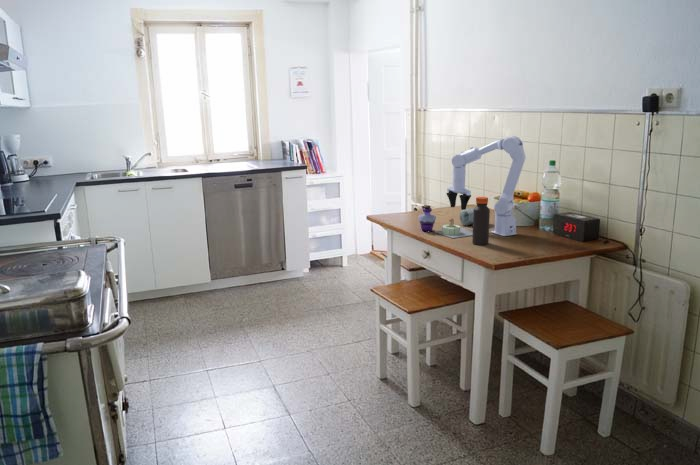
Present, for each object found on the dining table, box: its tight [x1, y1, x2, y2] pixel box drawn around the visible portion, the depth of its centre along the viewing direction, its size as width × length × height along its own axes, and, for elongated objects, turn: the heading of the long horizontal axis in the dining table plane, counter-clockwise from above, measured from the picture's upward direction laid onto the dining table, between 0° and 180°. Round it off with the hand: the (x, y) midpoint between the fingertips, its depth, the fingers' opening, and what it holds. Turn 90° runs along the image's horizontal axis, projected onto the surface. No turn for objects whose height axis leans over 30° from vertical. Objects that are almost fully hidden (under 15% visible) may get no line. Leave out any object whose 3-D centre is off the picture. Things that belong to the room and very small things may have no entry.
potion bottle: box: [418, 204, 437, 233], centre depth 271 cm, size 9×9×12 cm
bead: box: [441, 224, 461, 235], centre depth 265 cm, size 8×8×3 cm
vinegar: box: [471, 196, 491, 246], centre depth 245 cm, size 7×7×20 cm
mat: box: [434, 227, 473, 239], centre depth 266 cm, size 14×16×1 cm
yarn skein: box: [459, 207, 475, 226], centre depth 283 cm, size 14×10×10 cm
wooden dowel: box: [448, 217, 455, 228], centre depth 265 cm, size 2×2×7 cm
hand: (458, 208), depth 273 cm, fingers open, 7 cm apart
